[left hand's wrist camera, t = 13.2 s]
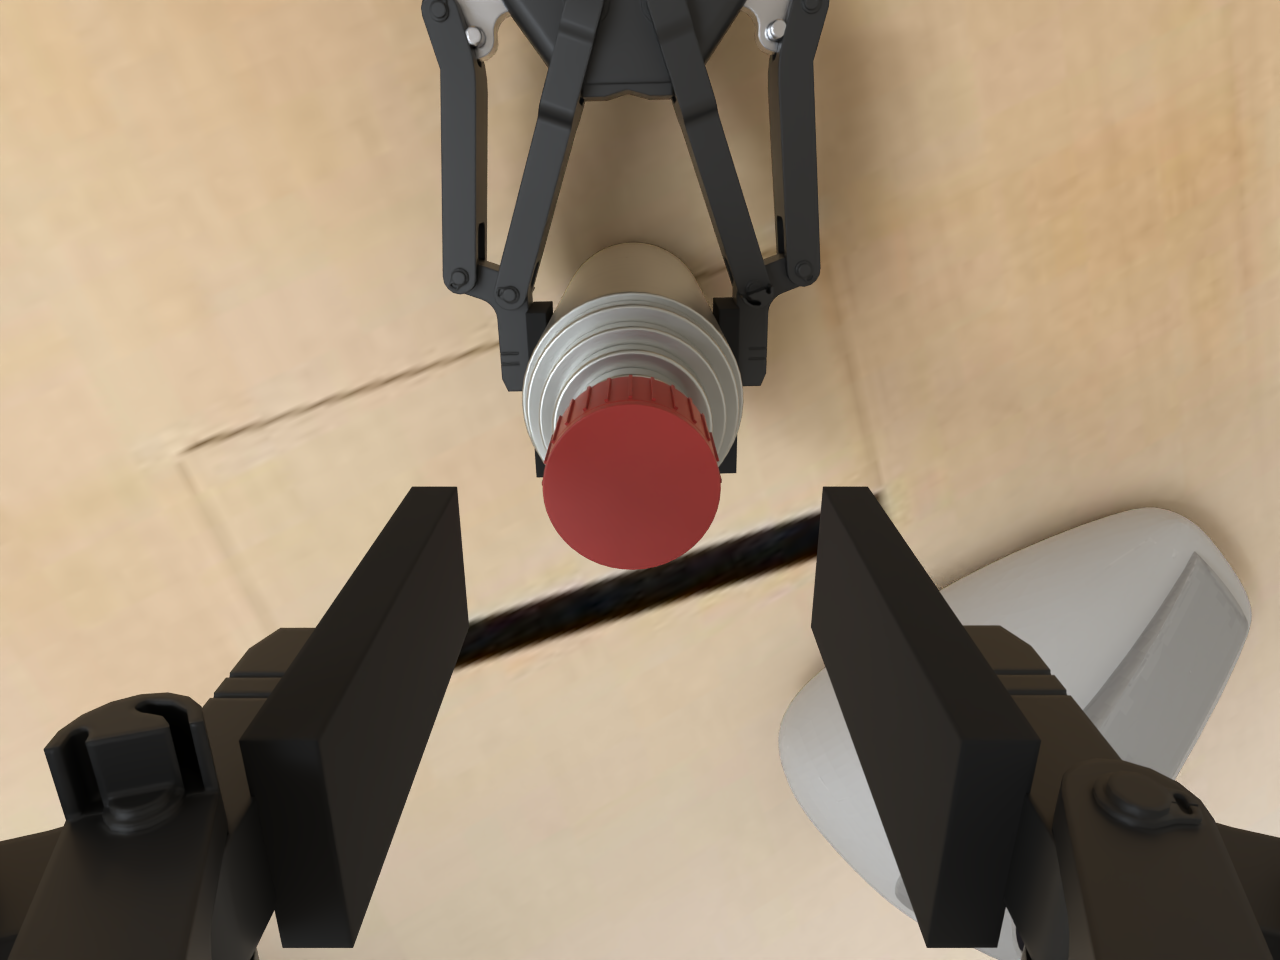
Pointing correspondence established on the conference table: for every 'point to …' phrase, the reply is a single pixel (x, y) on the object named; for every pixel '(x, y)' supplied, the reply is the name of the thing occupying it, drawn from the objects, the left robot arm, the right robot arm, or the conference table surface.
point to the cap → (631, 474)
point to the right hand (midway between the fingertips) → (636, 462)
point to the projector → (1058, 666)
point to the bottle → (633, 341)
